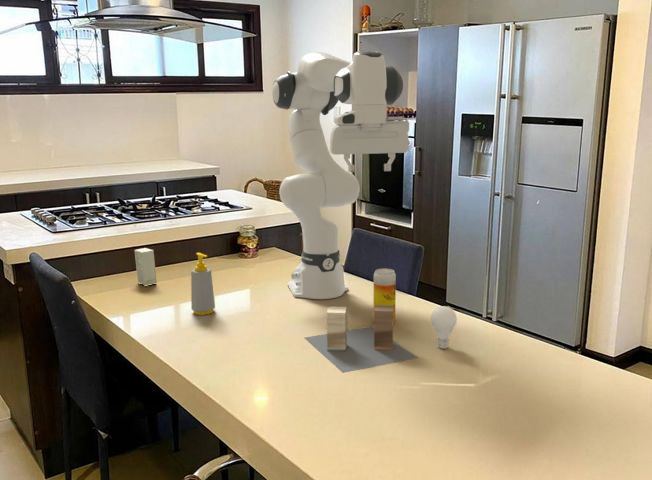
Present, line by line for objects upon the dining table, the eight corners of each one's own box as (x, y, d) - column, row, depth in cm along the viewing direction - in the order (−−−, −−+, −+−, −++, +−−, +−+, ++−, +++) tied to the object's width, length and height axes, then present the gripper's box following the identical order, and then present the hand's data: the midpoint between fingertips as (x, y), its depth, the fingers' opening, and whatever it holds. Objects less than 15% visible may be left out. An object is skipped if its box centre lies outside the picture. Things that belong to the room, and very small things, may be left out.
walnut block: (392, 349, 156) (392, 311, 154) (374, 349, 157) (374, 310, 155) (392, 342, 161) (393, 305, 159) (374, 342, 161) (375, 305, 159)
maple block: (345, 351, 156) (345, 312, 154) (327, 350, 156) (326, 312, 154) (346, 344, 160) (346, 307, 158) (329, 344, 161) (328, 306, 158)
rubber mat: (304, 339, 165) (303, 337, 165) (371, 327, 173) (371, 326, 173) (342, 374, 144) (342, 372, 144) (418, 359, 151) (418, 357, 151)
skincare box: (157, 284, 216) (154, 250, 214) (145, 287, 213) (142, 252, 211) (148, 281, 221) (146, 247, 218) (136, 283, 218) (134, 249, 215)
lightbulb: (439, 342, 162) (440, 301, 160) (460, 348, 158) (462, 306, 155) (424, 348, 158) (425, 306, 155) (446, 355, 153) (447, 312, 151)
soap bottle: (199, 317, 183) (195, 257, 179) (187, 312, 188) (183, 253, 184) (219, 312, 187) (216, 253, 183) (207, 306, 192) (204, 249, 188)
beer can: (394, 327, 173) (394, 274, 170) (372, 325, 174) (372, 273, 171) (396, 319, 179) (396, 268, 176) (374, 318, 180) (375, 267, 177)
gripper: (405, 116, 164) (405, 169, 167) (328, 117, 162) (329, 171, 164) (412, 116, 158) (412, 171, 161) (331, 117, 156) (332, 173, 158)
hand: (369, 171), depth 163 cm, fingers open, 8 cm apart
